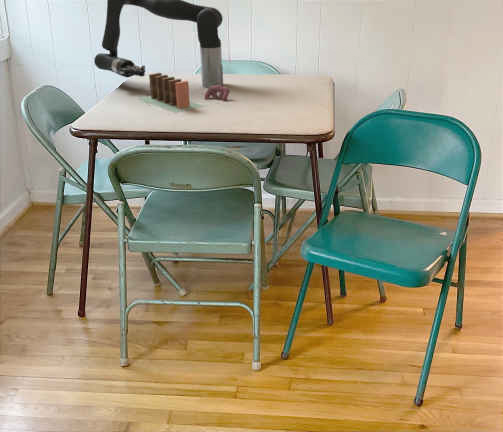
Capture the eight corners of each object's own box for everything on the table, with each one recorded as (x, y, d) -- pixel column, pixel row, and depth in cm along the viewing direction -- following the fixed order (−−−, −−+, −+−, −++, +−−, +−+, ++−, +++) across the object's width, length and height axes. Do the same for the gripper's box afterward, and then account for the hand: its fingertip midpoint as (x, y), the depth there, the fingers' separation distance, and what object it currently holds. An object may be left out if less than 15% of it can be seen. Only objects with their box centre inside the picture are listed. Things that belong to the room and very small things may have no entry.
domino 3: (163, 102, 258) (161, 78, 254) (174, 100, 261) (172, 76, 257) (165, 103, 257) (163, 79, 253) (176, 101, 260) (174, 77, 256)
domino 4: (170, 105, 255) (168, 80, 251) (180, 103, 258) (179, 78, 253) (172, 106, 254) (170, 81, 249) (182, 103, 257) (181, 79, 252)
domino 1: (151, 98, 266) (149, 74, 261) (161, 96, 268) (159, 72, 264) (153, 99, 264) (151, 75, 260) (163, 96, 267) (161, 73, 263)
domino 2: (157, 100, 262) (155, 76, 258) (167, 98, 265) (165, 74, 261) (159, 101, 261) (157, 77, 257) (169, 99, 264) (167, 75, 259)
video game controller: (229, 103, 262) (231, 87, 262) (224, 101, 258) (227, 84, 258) (208, 101, 266) (210, 85, 266) (203, 99, 262) (205, 82, 262)
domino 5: (177, 107, 251) (175, 82, 247) (187, 105, 254) (185, 80, 250) (179, 108, 250) (177, 83, 246) (189, 106, 253) (188, 81, 249)
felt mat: (136, 99, 266) (136, 98, 266) (165, 93, 274) (165, 92, 274) (175, 113, 245) (175, 112, 245) (205, 106, 253) (205, 106, 252)
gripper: (109, 60, 277) (128, 67, 265) (135, 56, 284) (155, 62, 272) (110, 77, 280) (129, 85, 268) (137, 73, 288) (156, 80, 275)
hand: (142, 73), depth 270 cm, fingers closed
